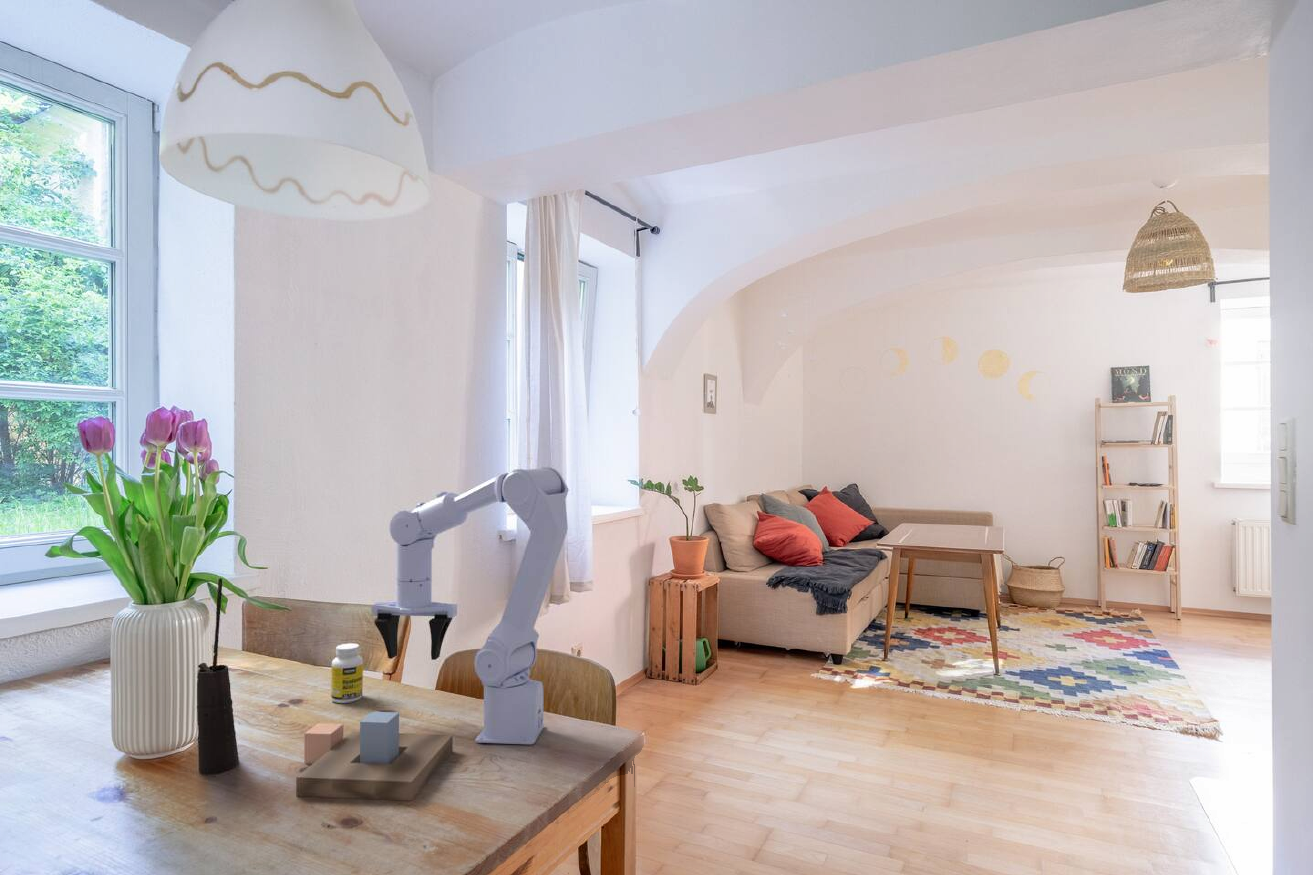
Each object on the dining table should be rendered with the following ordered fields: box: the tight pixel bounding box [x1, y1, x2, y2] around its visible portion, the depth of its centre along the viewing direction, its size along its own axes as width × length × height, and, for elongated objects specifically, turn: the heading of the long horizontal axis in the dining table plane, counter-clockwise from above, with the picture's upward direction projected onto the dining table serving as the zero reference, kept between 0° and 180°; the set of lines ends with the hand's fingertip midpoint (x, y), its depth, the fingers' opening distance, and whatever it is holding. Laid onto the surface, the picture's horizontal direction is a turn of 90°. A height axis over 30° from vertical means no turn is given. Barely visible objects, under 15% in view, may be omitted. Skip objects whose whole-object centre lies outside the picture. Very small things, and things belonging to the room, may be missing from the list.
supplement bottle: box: [330, 642, 364, 704], centre depth 140 cm, size 5×5×10 cm
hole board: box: [295, 730, 454, 801], centre depth 109 cm, size 16×16×2 cm
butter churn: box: [196, 577, 240, 775], centre depth 111 cm, size 9×10×28 cm
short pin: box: [303, 722, 344, 764], centre depth 114 cm, size 4×4×4 cm
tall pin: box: [359, 711, 400, 764], centre depth 109 cm, size 4×4×8 cm
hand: (414, 657), depth 131 cm, fingers open, 7 cm apart
